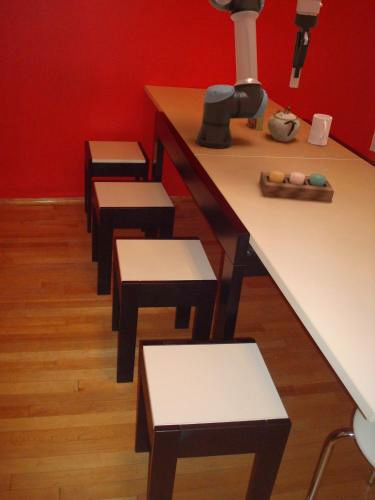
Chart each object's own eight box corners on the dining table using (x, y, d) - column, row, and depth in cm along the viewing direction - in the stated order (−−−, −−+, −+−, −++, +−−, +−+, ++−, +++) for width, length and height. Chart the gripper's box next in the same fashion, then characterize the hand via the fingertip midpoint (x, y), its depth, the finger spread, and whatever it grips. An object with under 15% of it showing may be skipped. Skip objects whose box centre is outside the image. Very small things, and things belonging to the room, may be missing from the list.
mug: (329, 148, 220) (335, 121, 214) (310, 146, 220) (316, 119, 214) (324, 140, 230) (330, 115, 224) (306, 138, 230) (312, 113, 224)
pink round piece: (289, 190, 168) (292, 176, 166) (286, 185, 172) (289, 171, 170) (303, 191, 168) (306, 177, 166) (300, 186, 172) (303, 172, 170)
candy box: (245, 124, 242) (250, 92, 235) (253, 124, 244) (258, 92, 237) (254, 130, 235) (260, 97, 228) (262, 130, 237) (268, 97, 230)
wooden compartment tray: (263, 196, 165) (265, 185, 163) (259, 182, 176) (260, 172, 174) (331, 201, 166) (334, 190, 164) (323, 188, 177) (325, 177, 175)
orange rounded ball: (268, 188, 168) (271, 174, 165) (266, 183, 172) (269, 169, 170) (282, 189, 168) (285, 175, 166) (280, 184, 172) (283, 170, 170)
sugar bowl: (305, 146, 220) (312, 112, 213) (273, 145, 217) (280, 110, 210) (289, 132, 237) (295, 100, 230) (259, 131, 234) (264, 99, 226)
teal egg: (309, 192, 168) (312, 178, 166) (306, 186, 173) (309, 173, 170) (323, 193, 169) (327, 179, 166) (320, 187, 173) (323, 174, 170)
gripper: (322, 16, 159) (307, 91, 171) (314, 13, 170) (300, 84, 182) (299, 14, 159) (286, 89, 170) (292, 11, 170) (280, 82, 182)
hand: (293, 86), depth 176 cm, fingers closed
